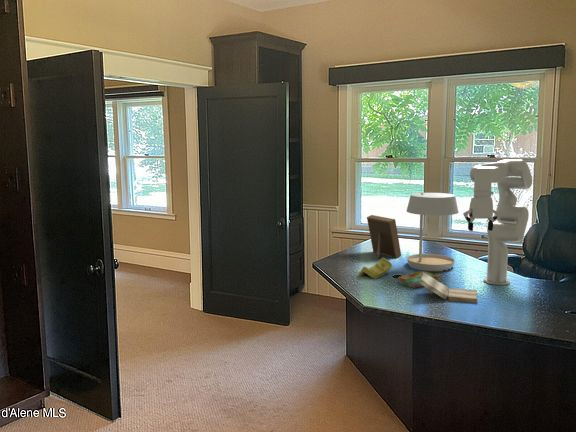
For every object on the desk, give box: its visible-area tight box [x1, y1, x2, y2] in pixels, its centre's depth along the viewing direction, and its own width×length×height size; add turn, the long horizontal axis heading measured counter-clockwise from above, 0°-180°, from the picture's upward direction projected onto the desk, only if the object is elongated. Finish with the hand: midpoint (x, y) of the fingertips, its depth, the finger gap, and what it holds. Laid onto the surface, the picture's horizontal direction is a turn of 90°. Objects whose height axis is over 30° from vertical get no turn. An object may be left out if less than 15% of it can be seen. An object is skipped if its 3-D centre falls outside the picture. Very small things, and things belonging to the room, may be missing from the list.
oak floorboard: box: [447, 287, 478, 304], centre depth 248 cm, size 14×13×2 cm
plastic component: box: [358, 257, 393, 279], centre depth 291 cm, size 20×7×10 cm
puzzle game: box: [397, 270, 442, 289], centre depth 273 cm, size 12×5×20 cm
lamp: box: [406, 192, 459, 272], centre depth 304 cm, size 29×29×43 cm
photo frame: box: [366, 214, 402, 260], centre depth 332 cm, size 15×22×25 cm
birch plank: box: [419, 272, 450, 300], centre depth 252 cm, size 14×14×2 cm
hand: (480, 230), depth 246 cm, fingers open, 9 cm apart
